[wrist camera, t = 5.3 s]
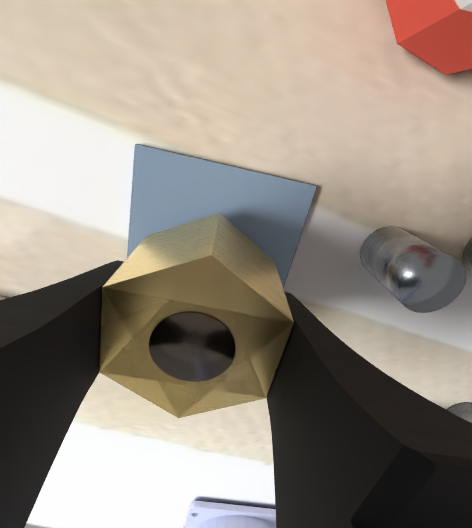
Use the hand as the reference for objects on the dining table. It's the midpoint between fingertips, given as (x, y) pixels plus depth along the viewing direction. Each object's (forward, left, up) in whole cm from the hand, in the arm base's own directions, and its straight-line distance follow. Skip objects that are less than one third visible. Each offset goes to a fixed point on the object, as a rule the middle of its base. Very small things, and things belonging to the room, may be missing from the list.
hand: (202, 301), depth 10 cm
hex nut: (0, 0, -1) cm, 1 cm away
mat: (0, 0, -3) cm, 3 cm away
